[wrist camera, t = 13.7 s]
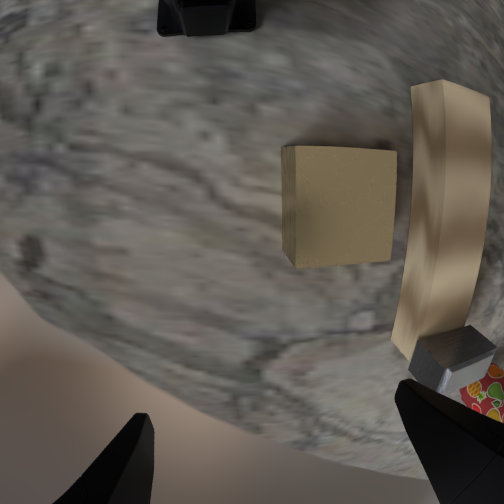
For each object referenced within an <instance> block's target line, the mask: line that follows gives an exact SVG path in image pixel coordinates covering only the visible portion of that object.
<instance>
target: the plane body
mask: <svg viewBox="0 0 504 504" xmlns="http://www.w3.org/2000/svg"><path fill="white" fill-rule="evenodd" d="M411 100H412V119H413V180H412V200H411V214H410V225H409V235H408V244H407V252H406V260H405V267H404V274H403V280H402V286H401V292H400V298H399V303H398V308H397V313H396V318H395V323H394V328H393V332H392V336H391V341H392V342H393V343H394V344H395V345H396V346H397V348H398V349H399V350H400V351H401V352H402V353H403V355H404V356H405V357H406V358H407V359H408V361H409V362H411V359H412V356H413V353H414V349H415V346H416V342H417V340H420V339H424V338H428V337H431V336H435V335H438V334H442V333H445V332H449V331H452V330H455V329H459V328H462V327H464V325H465V322H466V319H467V315H468V312H469V308H470V305H471V301H472V297H473V293H474V289H475V285H476V281H477V277H478V272H479V267H480V262H481V257H482V252H483V246H484V240H485V233H486V226H487V218H488V209H489V199H490V186H491V162H492V137H491V114H490V102H489V97H488V96H486V95H483V94H481V93H478V92H476V91H474V90H471V89H468V88H466V87H463V86H460V85H458V84H455V83H452V82H449V81H446V80H443V79H441V80H436V81H432V82H428V83H423V84H419V85H415V86H411Z"/></svg>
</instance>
